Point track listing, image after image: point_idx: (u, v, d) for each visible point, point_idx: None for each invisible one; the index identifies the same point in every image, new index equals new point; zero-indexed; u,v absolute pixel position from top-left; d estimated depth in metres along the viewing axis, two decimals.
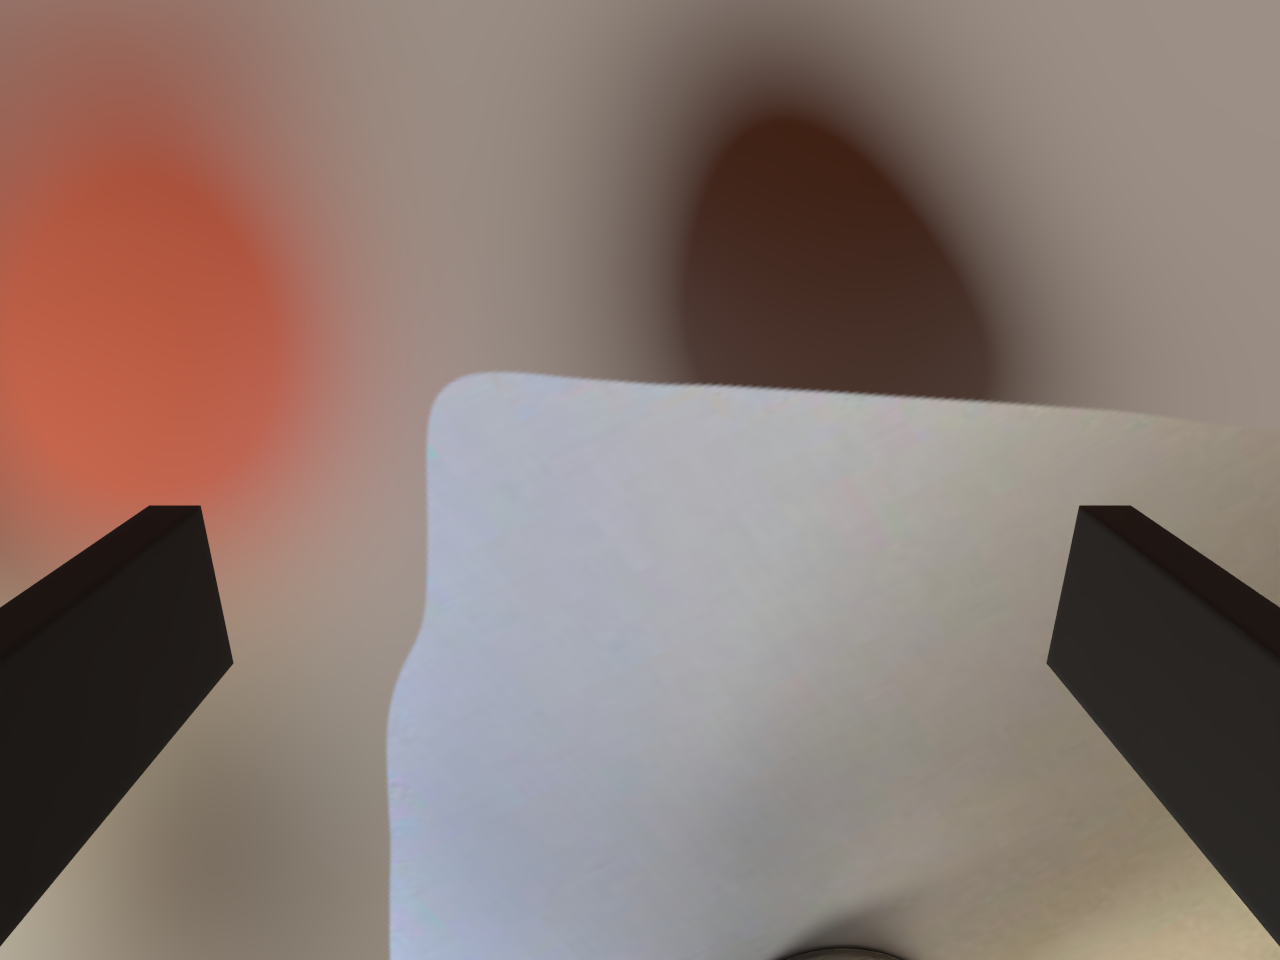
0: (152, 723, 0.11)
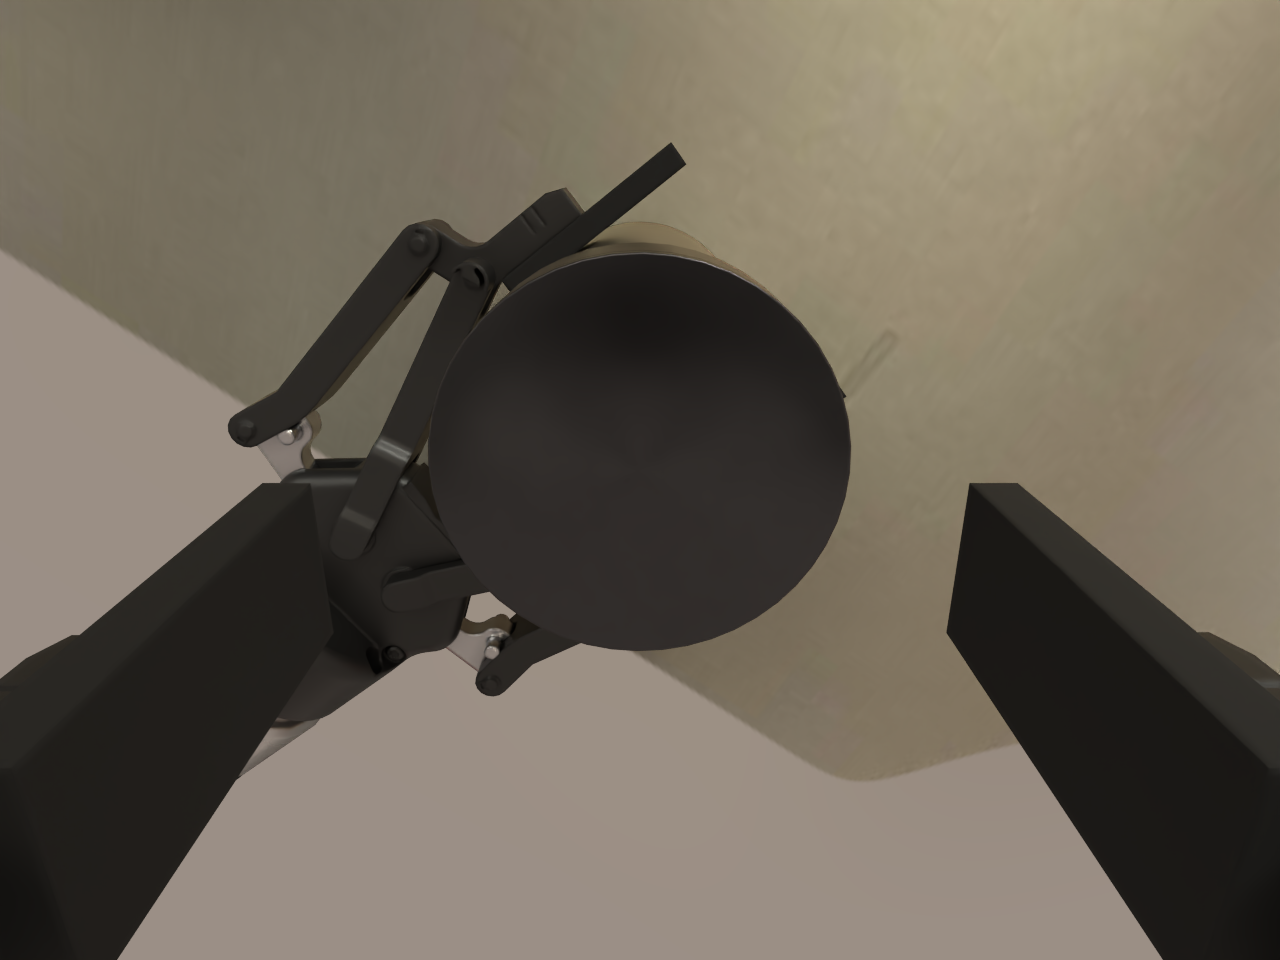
0: (277, 682, 0.12)
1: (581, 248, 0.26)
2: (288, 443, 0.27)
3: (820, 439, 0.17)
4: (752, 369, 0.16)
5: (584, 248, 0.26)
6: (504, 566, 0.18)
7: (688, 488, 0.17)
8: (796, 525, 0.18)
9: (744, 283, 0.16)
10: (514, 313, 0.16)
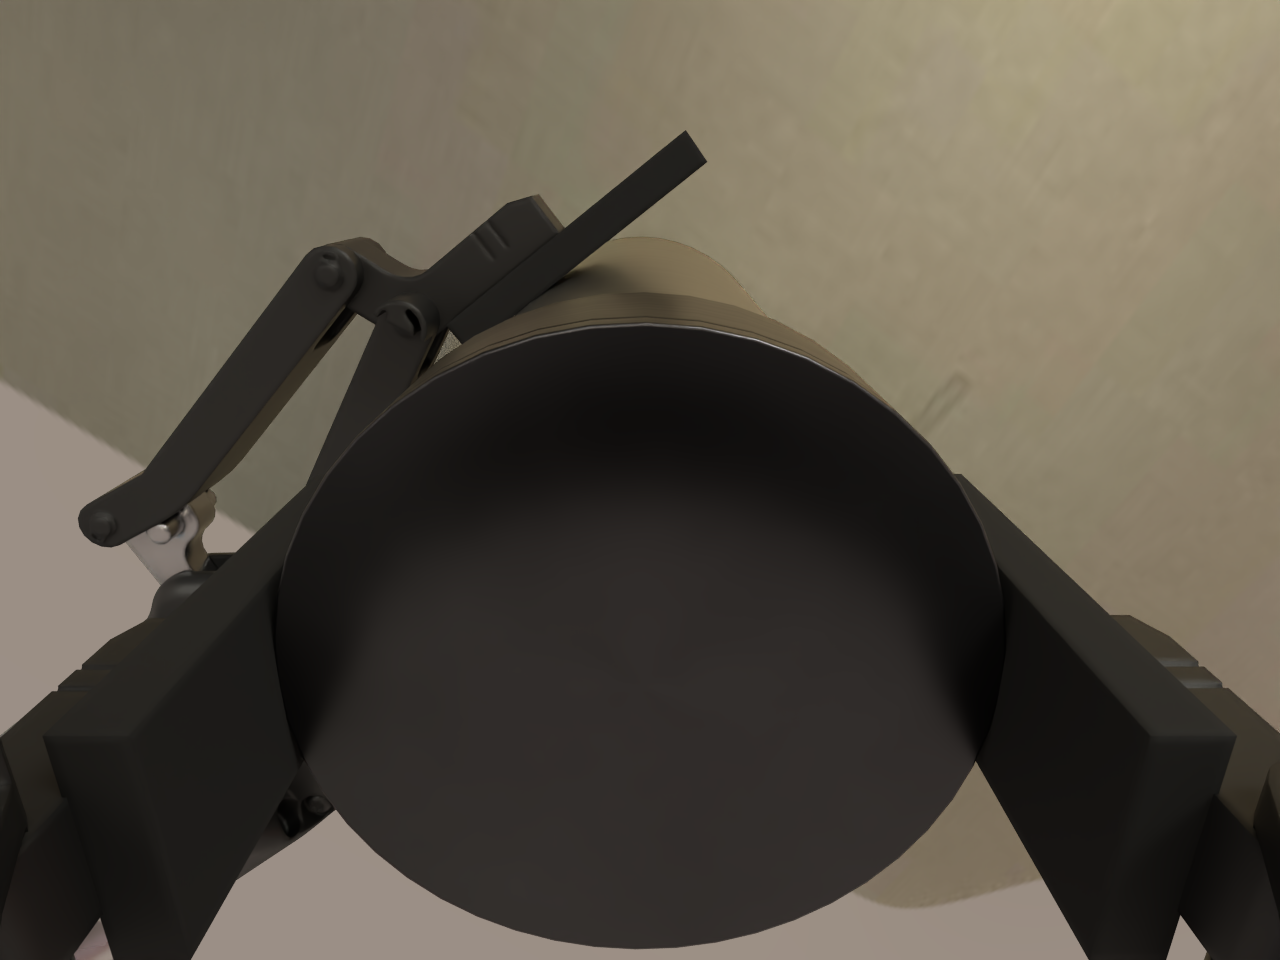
0: None
1: None
2: (162, 541, 0.20)
3: (954, 638, 0.10)
4: (840, 525, 0.09)
5: (563, 279, 0.18)
6: (415, 830, 0.11)
7: (723, 714, 0.10)
8: (904, 770, 0.10)
9: (832, 378, 0.09)
10: (413, 430, 0.09)
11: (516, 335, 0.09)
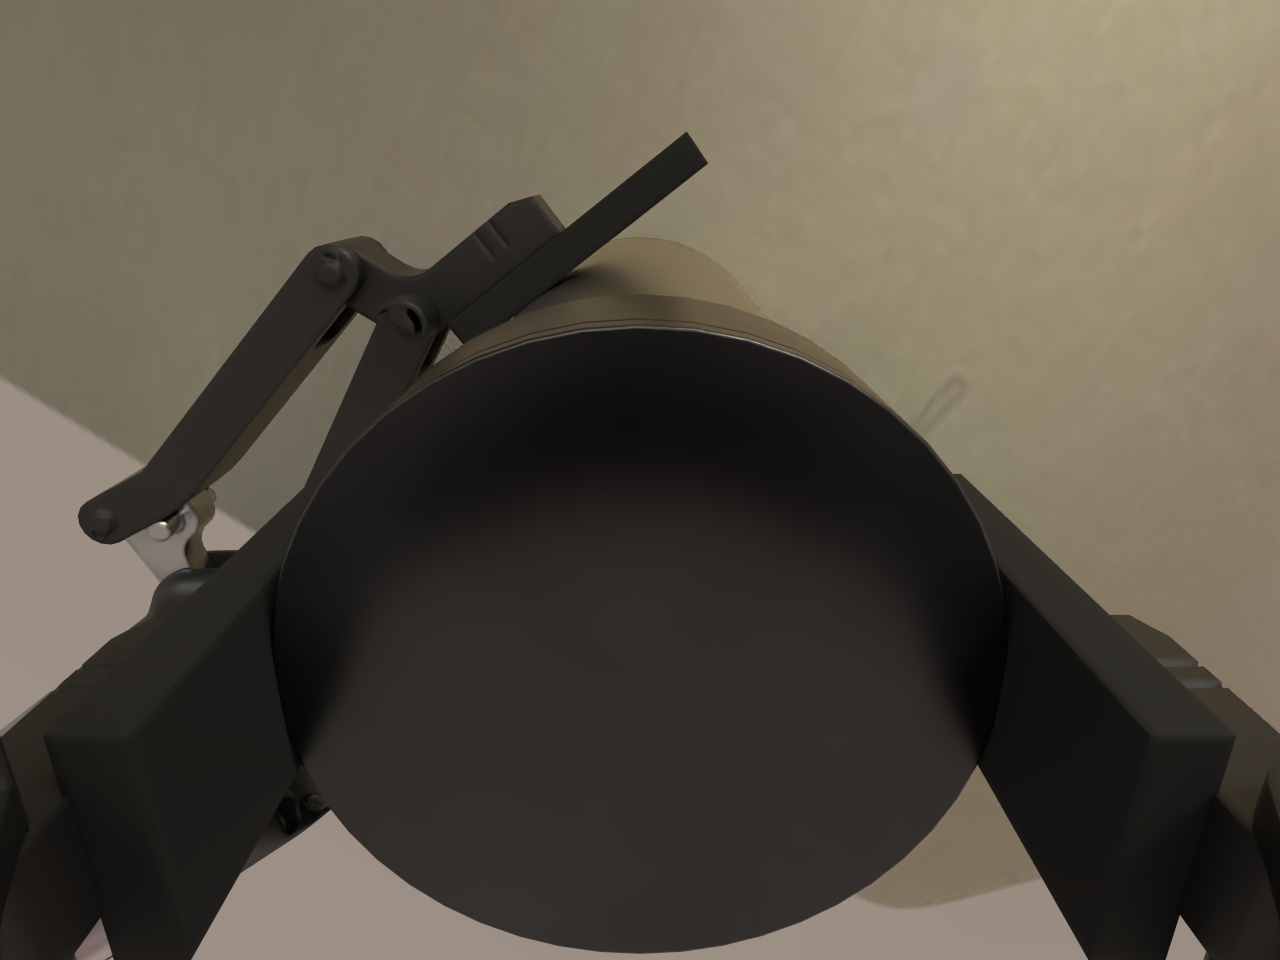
0: None
1: None
2: (162, 539, 0.20)
3: (524, 402, 0.09)
4: (422, 546, 0.09)
5: (564, 279, 0.18)
6: (840, 855, 0.11)
7: (661, 611, 0.10)
8: (710, 410, 0.09)
9: (284, 584, 0.09)
10: (426, 871, 0.11)
11: None
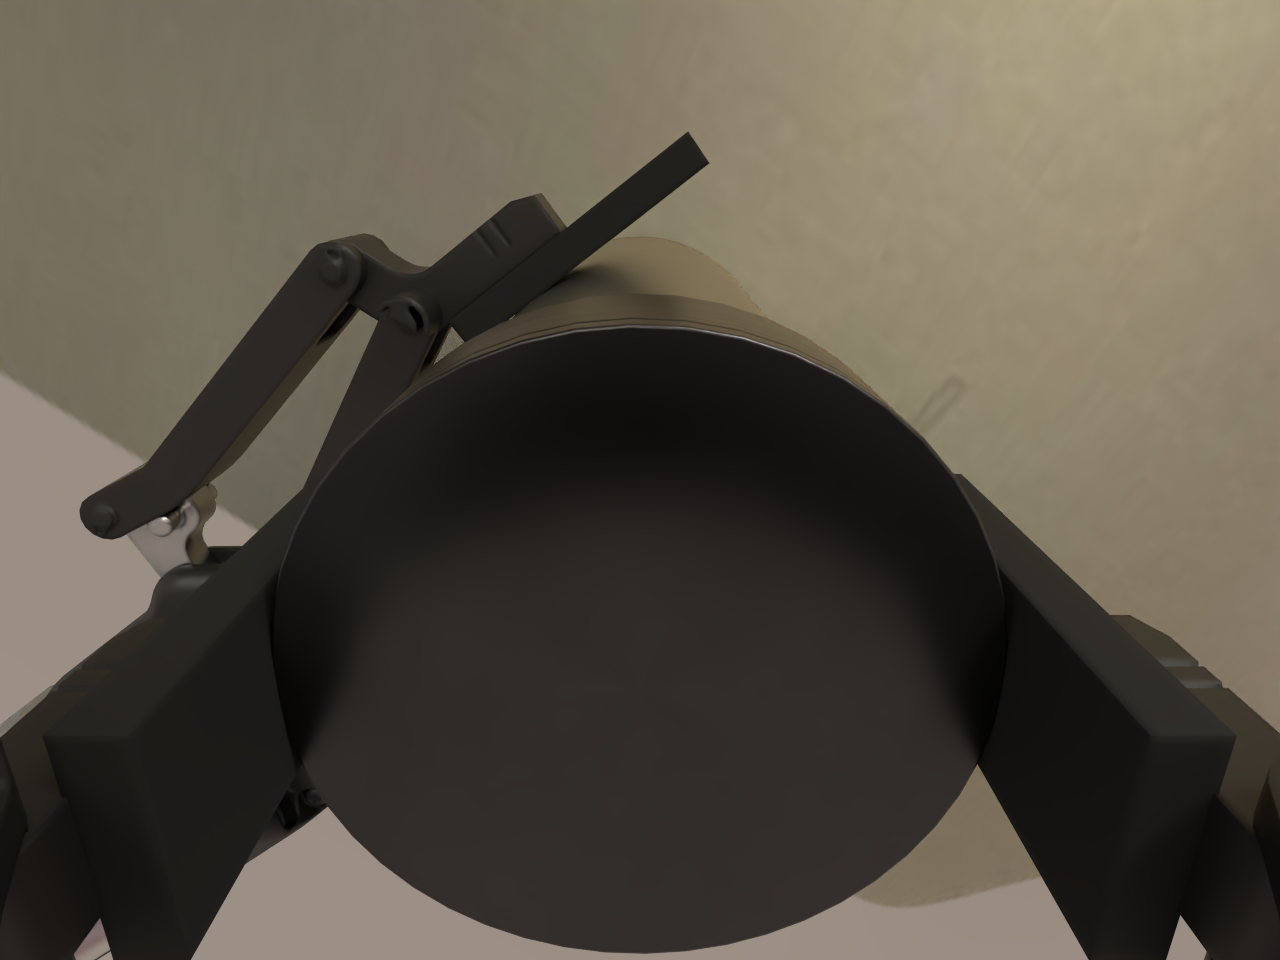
0: None
1: None
2: (163, 534, 0.20)
3: (377, 802, 0.11)
4: (524, 861, 0.11)
5: (565, 277, 0.19)
6: (841, 455, 0.09)
7: (547, 683, 0.10)
8: (340, 674, 0.10)
9: (580, 945, 0.12)
10: (888, 843, 0.11)
11: None
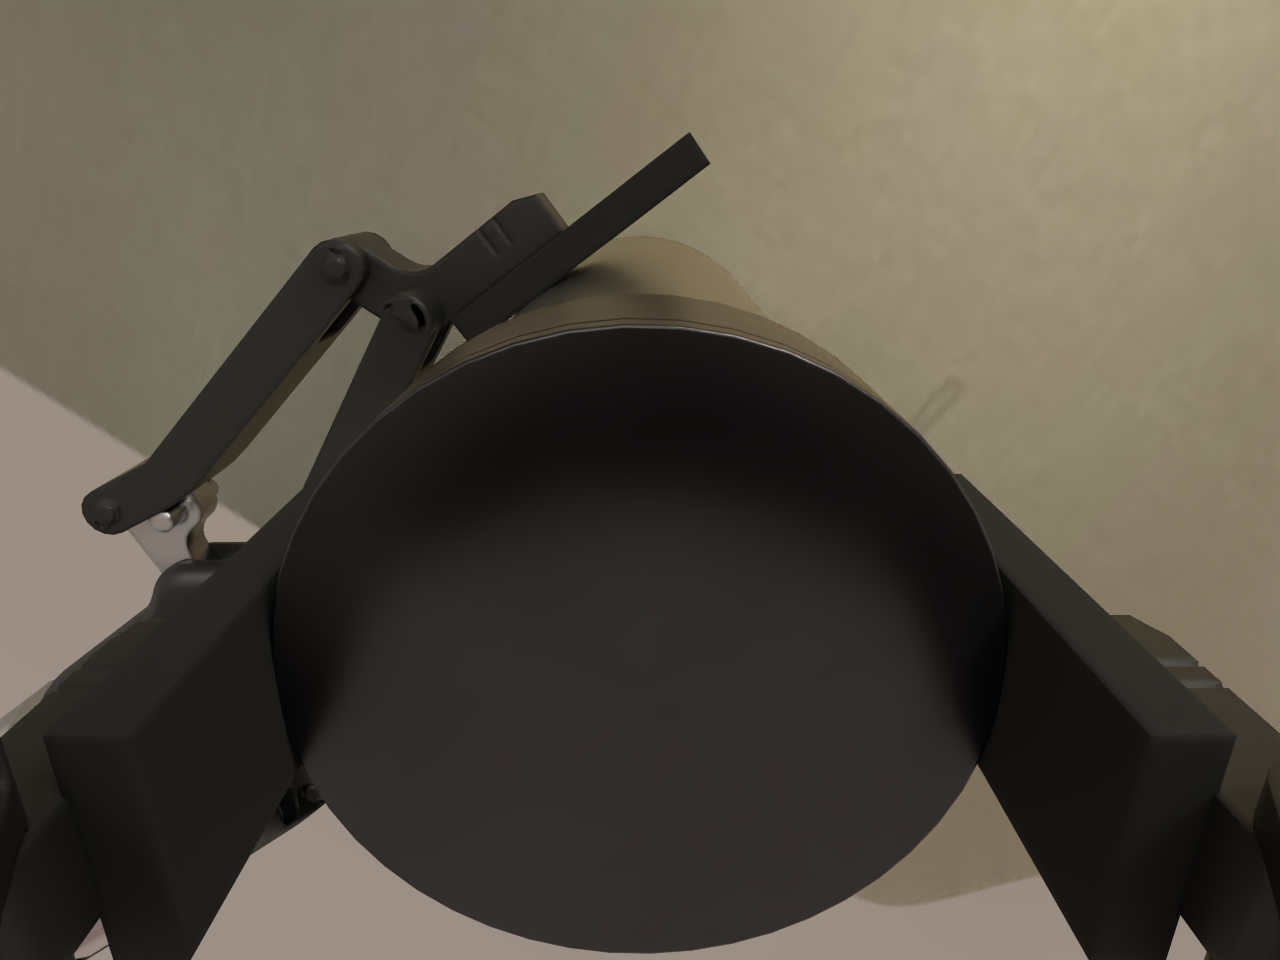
0: None
1: None
2: (165, 530, 0.20)
3: (803, 882, 0.11)
4: (870, 765, 0.10)
5: (566, 276, 0.19)
6: (349, 563, 0.09)
7: (645, 764, 0.10)
8: (661, 911, 0.11)
9: (993, 702, 0.10)
10: (819, 401, 0.09)
11: None
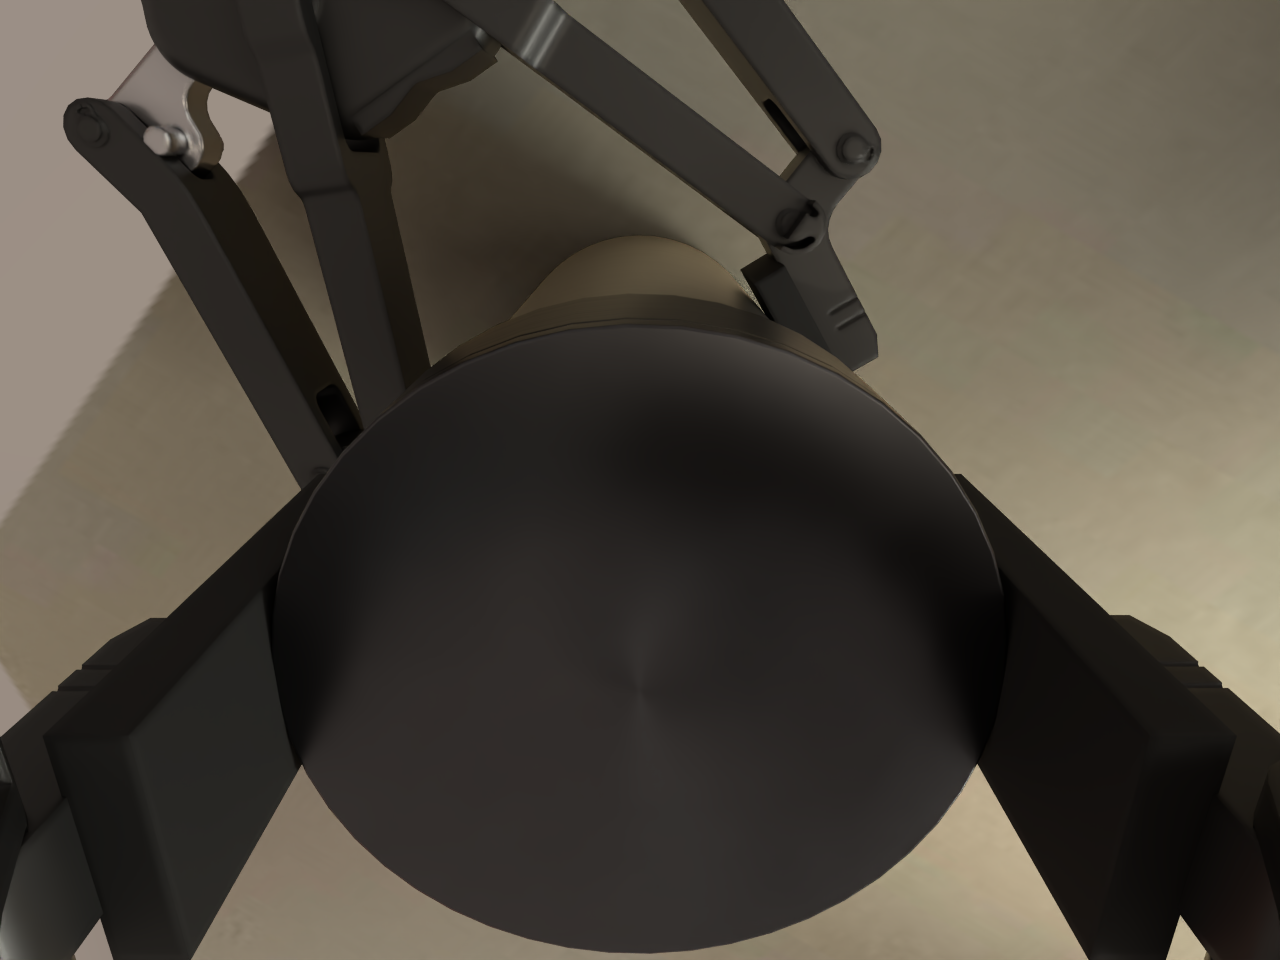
0: None
1: None
2: None
3: (802, 882, 0.11)
4: (869, 765, 0.10)
5: None
6: (349, 562, 0.09)
7: (644, 764, 0.10)
8: (661, 911, 0.11)
9: (993, 703, 0.10)
10: (820, 402, 0.09)
11: None
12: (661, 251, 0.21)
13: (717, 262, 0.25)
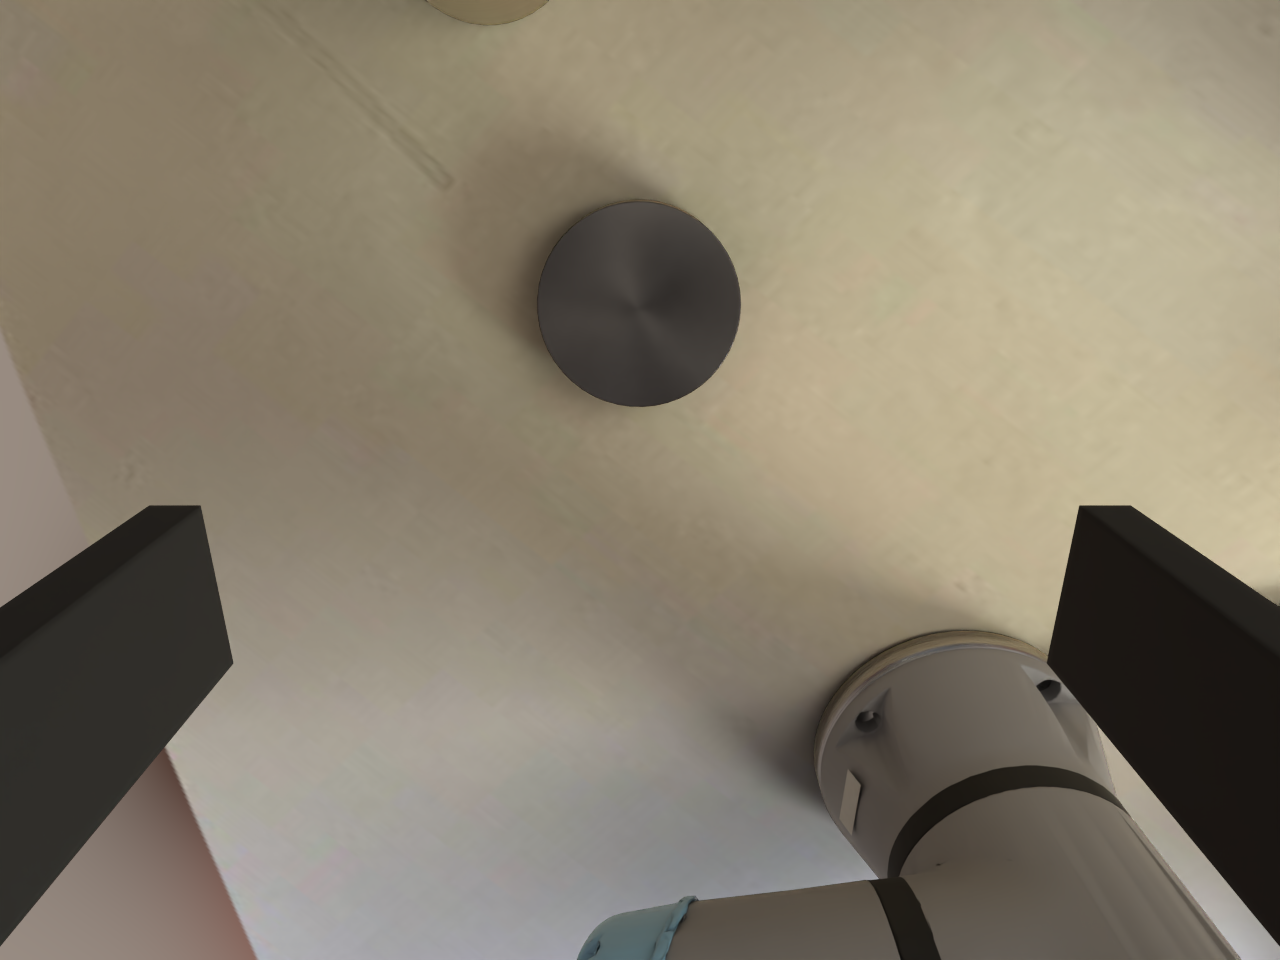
0: (152, 723, 0.11)
1: None
2: None
3: (688, 378, 0.37)
4: (705, 334, 0.36)
5: None
6: (561, 268, 0.35)
7: (640, 334, 0.36)
8: (645, 389, 0.37)
9: (738, 312, 0.36)
10: (684, 221, 0.34)
11: None
12: None
13: None
